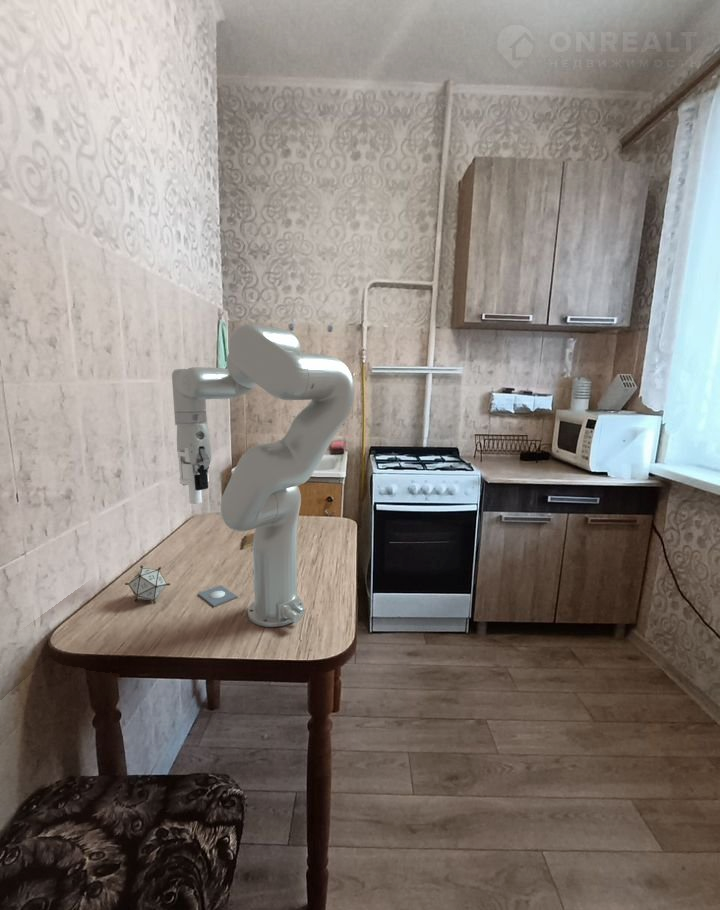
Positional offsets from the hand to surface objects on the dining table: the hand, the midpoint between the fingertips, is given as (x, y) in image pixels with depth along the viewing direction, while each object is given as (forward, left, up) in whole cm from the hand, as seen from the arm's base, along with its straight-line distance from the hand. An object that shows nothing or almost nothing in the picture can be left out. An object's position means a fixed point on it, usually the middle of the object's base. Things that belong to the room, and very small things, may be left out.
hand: (195, 486), depth 108 cm
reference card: (-14, +2, -25) cm, 28 cm away
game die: (-4, +14, -25) cm, 29 cm away
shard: (+10, -24, -26) cm, 37 cm away
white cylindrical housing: (0, 0, -5) cm, 5 cm away
